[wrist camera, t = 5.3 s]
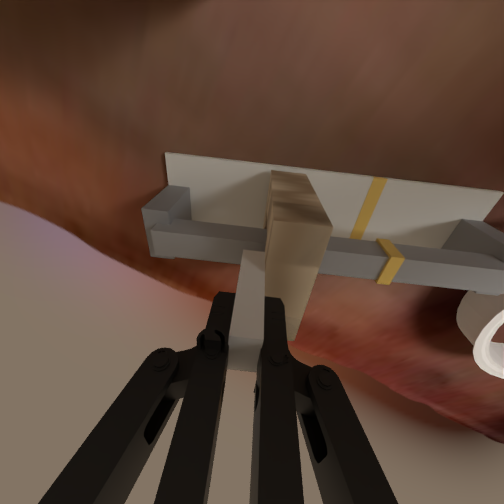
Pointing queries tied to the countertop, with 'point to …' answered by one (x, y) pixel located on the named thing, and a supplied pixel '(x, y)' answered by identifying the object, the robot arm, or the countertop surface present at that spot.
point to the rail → (333, 223)
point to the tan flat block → (293, 243)
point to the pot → (483, 329)
